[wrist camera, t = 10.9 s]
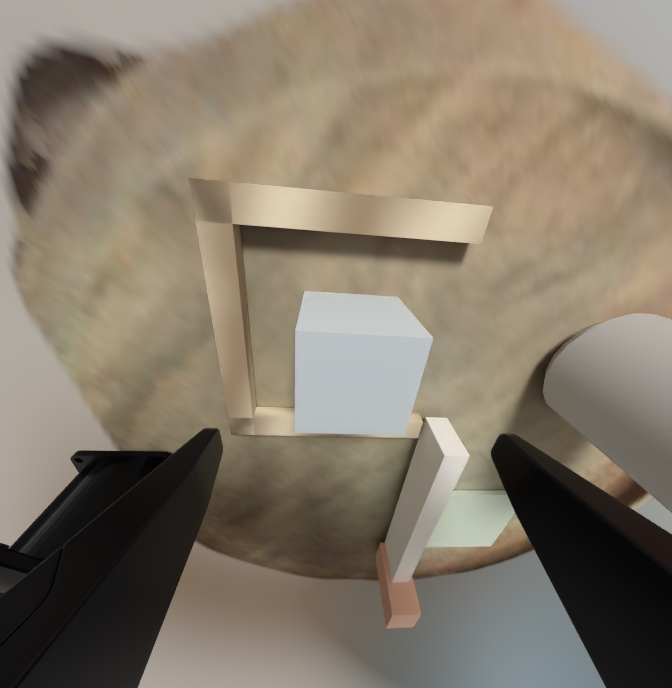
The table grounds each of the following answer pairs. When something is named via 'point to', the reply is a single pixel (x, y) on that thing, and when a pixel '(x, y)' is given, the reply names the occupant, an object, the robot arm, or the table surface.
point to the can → (620, 395)
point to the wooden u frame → (306, 214)
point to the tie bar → (417, 518)
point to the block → (357, 364)
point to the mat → (472, 519)
